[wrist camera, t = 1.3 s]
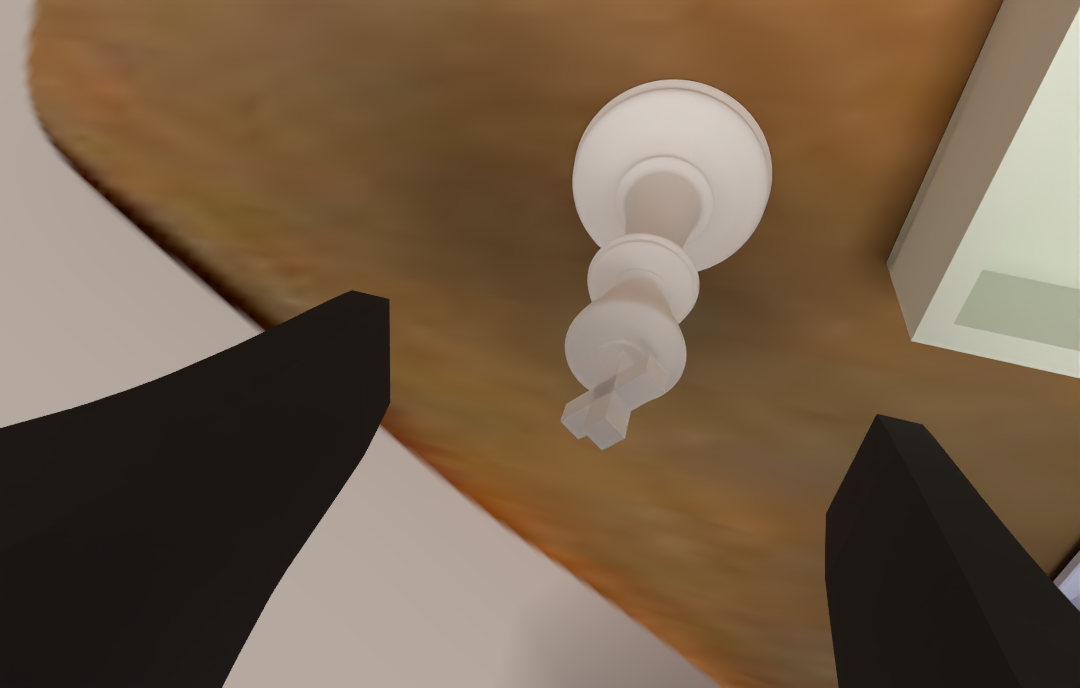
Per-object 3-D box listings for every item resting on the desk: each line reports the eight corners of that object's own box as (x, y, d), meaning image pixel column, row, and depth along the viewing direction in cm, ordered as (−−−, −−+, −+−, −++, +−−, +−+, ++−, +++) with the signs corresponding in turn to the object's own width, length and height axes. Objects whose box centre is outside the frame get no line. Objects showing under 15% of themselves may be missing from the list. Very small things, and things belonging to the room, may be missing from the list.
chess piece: (536, 163, 19) (375, 393, 11) (689, 32, 16) (627, 206, 8) (653, 297, 20) (587, 589, 12) (813, 196, 18) (861, 481, 10)
